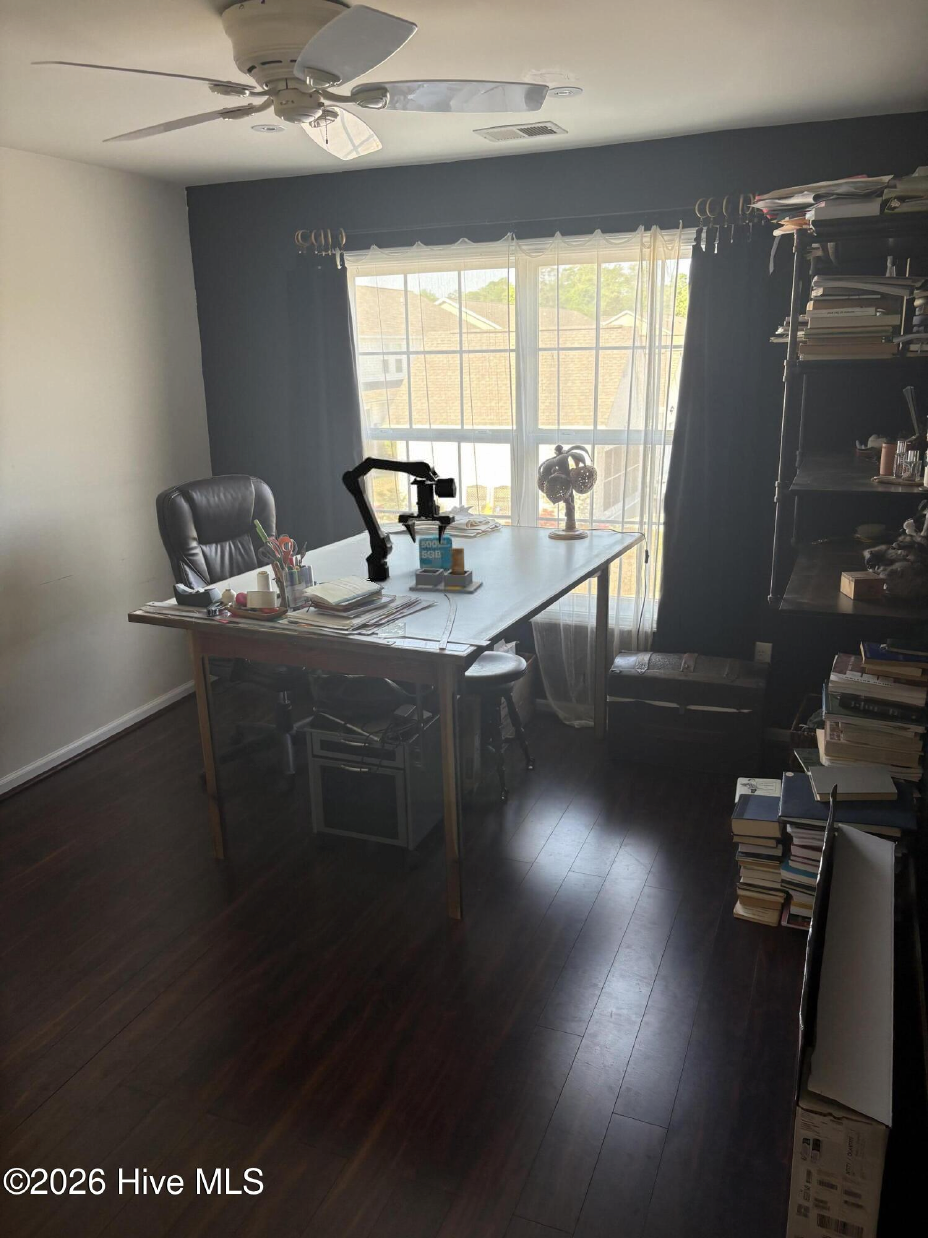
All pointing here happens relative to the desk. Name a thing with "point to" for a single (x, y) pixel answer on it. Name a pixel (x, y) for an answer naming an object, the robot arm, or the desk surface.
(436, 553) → the data package
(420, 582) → the socket block
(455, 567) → the walnut peg
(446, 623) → the desk surface
